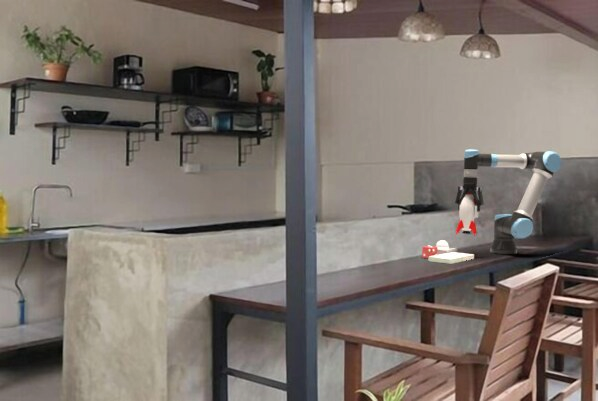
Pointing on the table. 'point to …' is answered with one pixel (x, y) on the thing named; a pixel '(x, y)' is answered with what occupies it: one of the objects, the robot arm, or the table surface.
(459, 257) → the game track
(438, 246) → the dome
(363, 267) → the table surface
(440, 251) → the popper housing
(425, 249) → the red die
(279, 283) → the table surface
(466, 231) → the rocket
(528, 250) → the table surface
